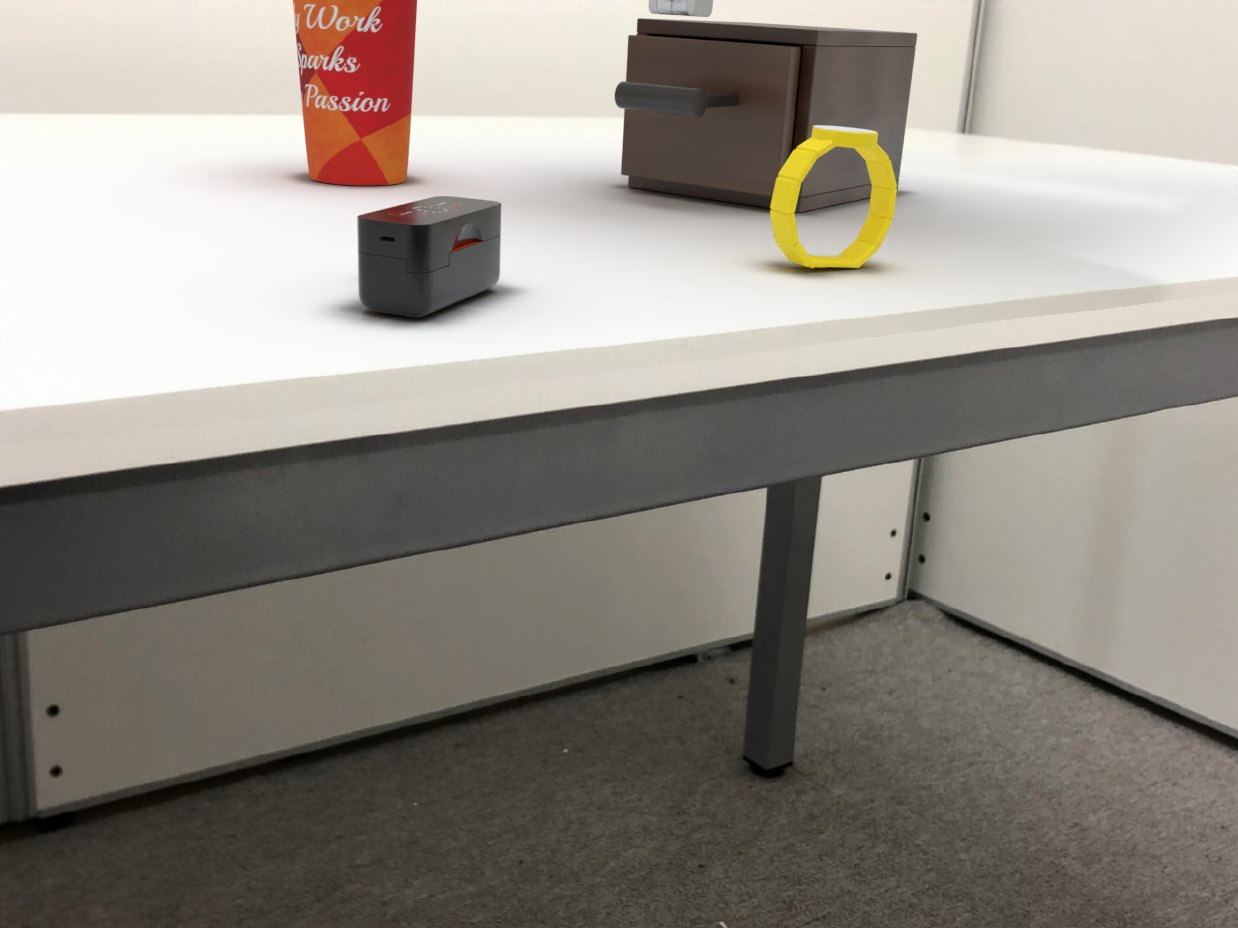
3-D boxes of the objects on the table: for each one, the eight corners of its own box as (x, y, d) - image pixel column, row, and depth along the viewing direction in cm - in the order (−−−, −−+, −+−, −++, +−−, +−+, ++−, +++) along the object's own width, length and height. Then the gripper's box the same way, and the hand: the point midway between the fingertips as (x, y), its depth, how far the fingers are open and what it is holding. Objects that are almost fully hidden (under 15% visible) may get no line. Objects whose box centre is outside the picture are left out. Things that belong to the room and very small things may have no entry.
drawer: (731, 206, 65) (744, 46, 62) (569, 181, 70) (575, 34, 68) (872, 179, 79) (888, 47, 76) (728, 161, 84) (738, 37, 81)
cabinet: (799, 212, 70) (817, 30, 67) (627, 187, 76) (636, 18, 73) (897, 191, 81) (918, 33, 77) (740, 170, 87) (752, 22, 83)
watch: (793, 278, 53) (808, 131, 51) (753, 265, 55) (766, 124, 53) (899, 269, 56) (917, 131, 54) (857, 257, 58) (873, 124, 56)
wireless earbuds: (514, 285, 49) (516, 200, 48) (423, 323, 42) (423, 226, 41) (407, 270, 50) (407, 187, 49) (304, 305, 44) (301, 211, 43)
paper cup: (261, 176, 72) (249, -91, 67) (354, 166, 78) (350, -80, 73) (364, 193, 68) (360, -89, 64) (454, 181, 75) (456, -77, 70)
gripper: (927, -286, 59) (888, 29, 63) (575, -260, 69) (564, 7, 74) (870, -317, 54) (832, 26, 58) (500, -285, 64) (494, 3, 69)
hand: (679, 15), depth 66 cm, fingers closed
